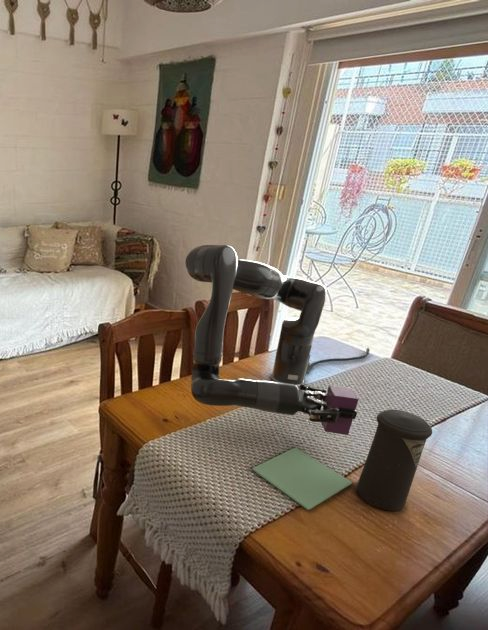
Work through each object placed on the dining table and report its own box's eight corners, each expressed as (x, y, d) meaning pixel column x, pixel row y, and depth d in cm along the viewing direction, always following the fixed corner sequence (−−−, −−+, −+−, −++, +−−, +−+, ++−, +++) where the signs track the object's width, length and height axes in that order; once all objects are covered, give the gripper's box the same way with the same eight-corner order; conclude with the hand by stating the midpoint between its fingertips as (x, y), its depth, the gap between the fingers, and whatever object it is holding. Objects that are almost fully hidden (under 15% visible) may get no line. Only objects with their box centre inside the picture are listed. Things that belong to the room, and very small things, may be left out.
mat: (295, 448, 109) (295, 447, 109) (352, 484, 97) (352, 482, 97) (251, 469, 101) (251, 468, 101) (308, 510, 90) (308, 509, 90)
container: (406, 519, 88) (437, 436, 81) (354, 501, 93) (379, 421, 85) (403, 492, 95) (431, 414, 88) (354, 477, 99) (378, 401, 92)
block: (319, 420, 109) (328, 385, 106) (342, 423, 108) (352, 388, 105) (324, 431, 105) (334, 395, 101) (348, 435, 104) (358, 399, 100)
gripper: (282, 399, 100) (366, 411, 96) (272, 370, 113) (346, 379, 109) (276, 426, 103) (358, 439, 99) (267, 395, 116) (339, 405, 111)
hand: (351, 408), depth 104 cm, fingers closed on block, 5 cm apart
